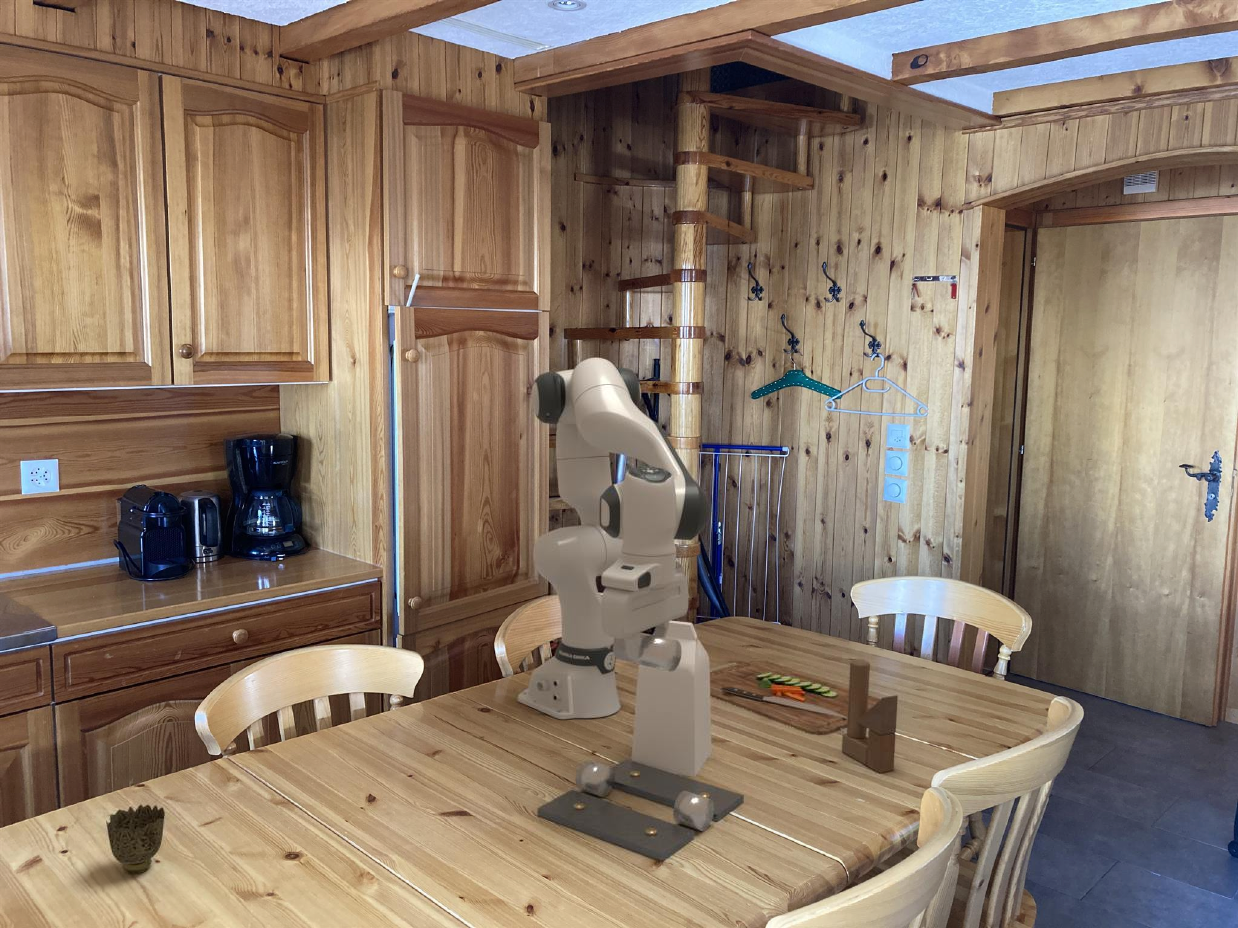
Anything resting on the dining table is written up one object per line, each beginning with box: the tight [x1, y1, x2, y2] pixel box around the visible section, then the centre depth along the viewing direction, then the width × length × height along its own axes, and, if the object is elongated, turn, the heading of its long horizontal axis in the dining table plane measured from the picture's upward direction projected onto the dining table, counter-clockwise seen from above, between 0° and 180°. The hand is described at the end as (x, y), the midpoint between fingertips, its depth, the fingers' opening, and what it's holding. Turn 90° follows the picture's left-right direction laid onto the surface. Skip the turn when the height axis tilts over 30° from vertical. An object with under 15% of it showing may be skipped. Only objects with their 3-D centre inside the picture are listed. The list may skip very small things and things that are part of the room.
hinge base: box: [536, 759, 745, 863], centre depth 163 cm, size 24×25×5 cm
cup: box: [105, 804, 166, 874], centre depth 141 cm, size 8×7×8 cm
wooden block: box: [841, 659, 899, 774], centre depth 183 cm, size 4×11×18 cm, turn 26°
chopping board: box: [710, 660, 881, 736], centre depth 219 cm, size 45×27×3 cm, turn 40°
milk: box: [630, 620, 712, 778], centre depth 182 cm, size 12×12×26 cm
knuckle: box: [613, 632, 682, 671], centre depth 160 cm, size 10×5×5 cm, turn 55°
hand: (646, 653), depth 160 cm, fingers closed on knuckle, 5 cm apart
